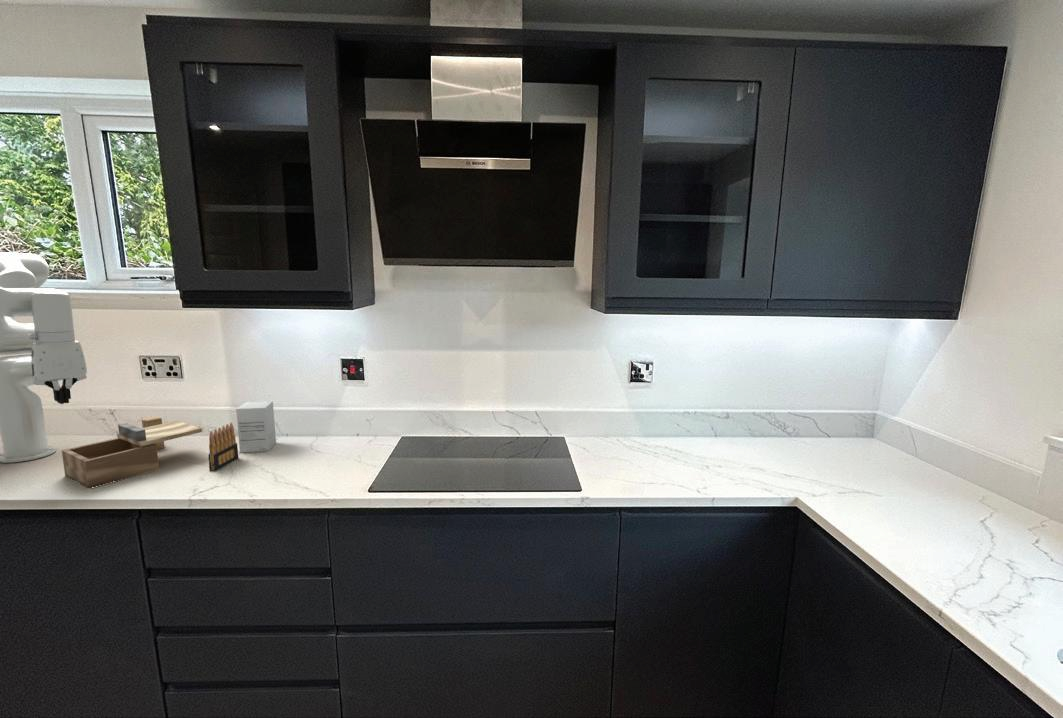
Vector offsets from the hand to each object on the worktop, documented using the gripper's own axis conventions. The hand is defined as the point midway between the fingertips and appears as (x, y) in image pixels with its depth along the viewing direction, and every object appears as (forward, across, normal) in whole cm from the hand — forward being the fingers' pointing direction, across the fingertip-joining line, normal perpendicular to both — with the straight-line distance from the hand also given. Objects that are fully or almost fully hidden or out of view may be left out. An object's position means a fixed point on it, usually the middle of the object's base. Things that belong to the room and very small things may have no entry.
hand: (63, 402), depth 131 cm
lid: (+13, +19, -8) cm, 24 cm away
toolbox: (+21, +6, -8) cm, 23 cm away
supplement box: (+20, +40, -23) cm, 51 cm away
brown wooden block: (+22, +23, +5) cm, 32 cm away
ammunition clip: (+20, +26, -29) cm, 44 cm away
